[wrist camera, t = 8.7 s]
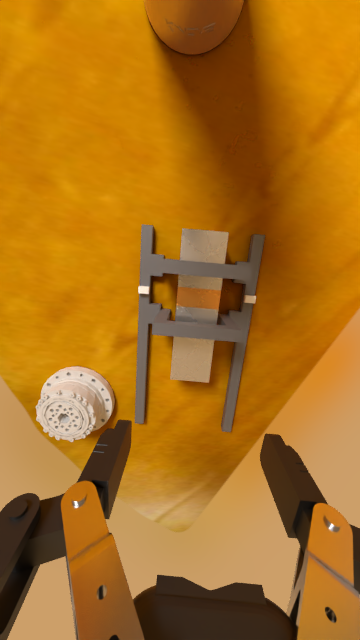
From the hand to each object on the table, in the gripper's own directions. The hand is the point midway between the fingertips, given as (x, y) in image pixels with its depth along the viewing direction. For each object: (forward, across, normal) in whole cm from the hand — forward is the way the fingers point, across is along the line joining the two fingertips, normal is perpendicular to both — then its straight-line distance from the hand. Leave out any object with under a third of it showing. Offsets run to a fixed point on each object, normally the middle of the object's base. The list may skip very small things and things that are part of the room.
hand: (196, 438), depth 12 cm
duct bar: (+15, 0, -5) cm, 16 cm away
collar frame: (+15, 0, -1) cm, 15 cm away
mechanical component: (+15, +15, +10) cm, 24 cm away
